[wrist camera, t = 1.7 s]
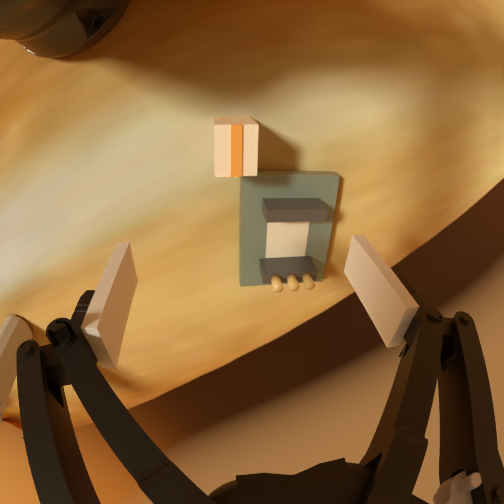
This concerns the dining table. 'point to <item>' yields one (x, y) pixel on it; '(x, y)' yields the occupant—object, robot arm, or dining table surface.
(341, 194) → the dining table surface
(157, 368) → the dining table surface
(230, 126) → the plug
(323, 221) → the header board
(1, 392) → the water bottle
